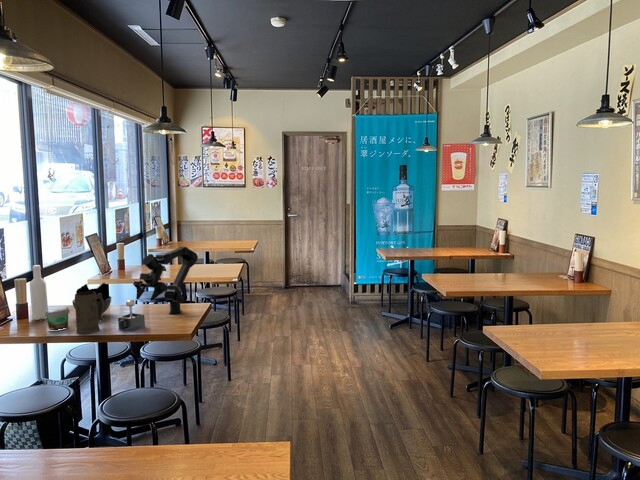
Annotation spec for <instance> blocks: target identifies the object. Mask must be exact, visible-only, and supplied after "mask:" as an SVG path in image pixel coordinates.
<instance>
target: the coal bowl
mask: <svg viewBox="0 0 640 480" xmlns="http://www.w3.org/2000/svg"><path fill="white" fill-rule="evenodd" d="M88 285H89V284H87V283H85V284H84V285H82V286H80V287H79V288H77V290H76V292H75V294H76V293H81V292H95V293H96V295H98V294H99V293H102V298H103V301H104V310H103V313H102V315H103V314H104V313H106V311H108V309H109V308H110V306H111V303H112V296H111V295H109V285H108V284H107V283H105V282H103V283H102V284H100V285H98V286H97V287H96V288H89V286H88ZM96 300H97V305H98V315H99V310H100V302H99V299H96ZM71 303H72V306H73V308H74V309H75V307H76V303H75V298H74V299H72V302H71Z"/></svg>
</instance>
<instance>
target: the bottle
mask: <svg viewBox="0 0 640 480" xmlns="http://www.w3.org/2000/svg"><path fill="white" fill-rule="evenodd" d="M41 269H42V268H41V265H40V264H35V265H32V274H33V279H32V280H31V281H30V283H29V290H30V301H31V302H30V303H31V312H32V315H31V316H32V319H33V318H34V319H40V318H46V316H45V313H46V312H49V305H48V294H47V293H48V291H47V283H46V281H45V279H43V277H42V272H41Z"/></svg>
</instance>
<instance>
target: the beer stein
mask: <svg viewBox="0 0 640 480" xmlns="http://www.w3.org/2000/svg"><path fill="white" fill-rule="evenodd" d="M74 299H75V303H76V307H75V308H74V310H75V324H76V330H75V331H76V334H78V333H79V334H80V335H88V333H90V334H93V332H94V333H97V332H99V331H100V326H99V325H100V322H103V321H104V318H103V314H104V313H103V310H104V301H103V298H102V293H99V294H98V295H96V293H95V292H81V293H76V292H75V294H74ZM96 299H99V302H100V310H99V315H98V305H97V300H96ZM102 313H103V314H102ZM79 334H78V335H79Z"/></svg>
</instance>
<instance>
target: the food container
mask: <svg viewBox="0 0 640 480" xmlns="http://www.w3.org/2000/svg"><path fill="white" fill-rule="evenodd" d="M69 314H70V308H69V307H67V306H66V308H65V309H61V310H60V309H59V310H54V311H52V312H50V311H48V312H46V313H45V316H46V317H47V319H46V321H47V325H48V326H47V327H48V330H49V329H50V330H58V329H63V328H67V327H68V328H69ZM68 328H67V329H68Z"/></svg>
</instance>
